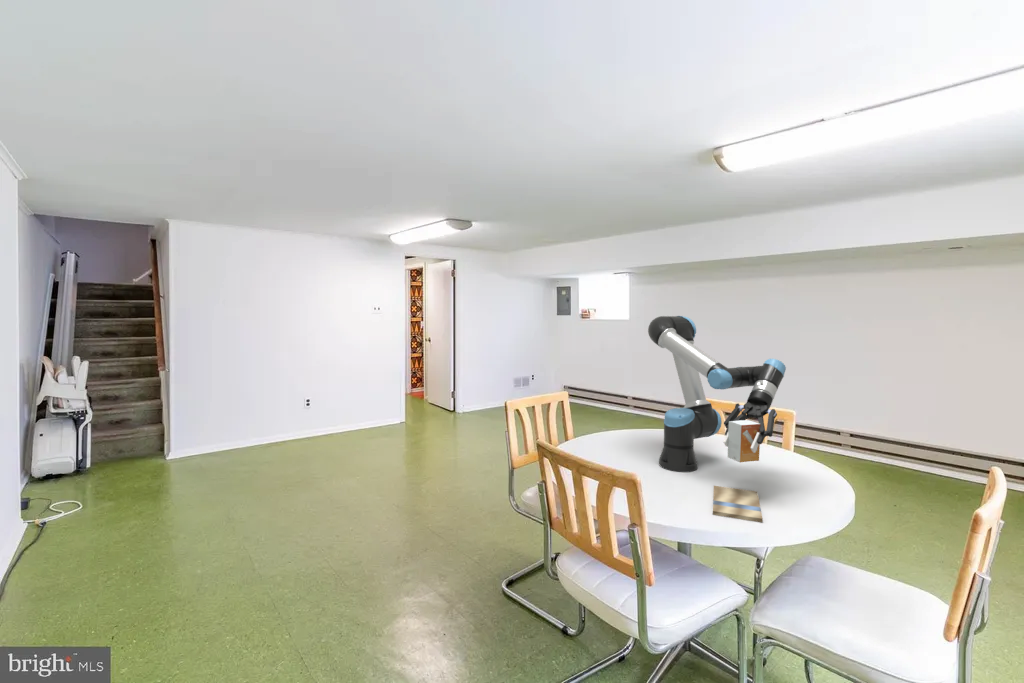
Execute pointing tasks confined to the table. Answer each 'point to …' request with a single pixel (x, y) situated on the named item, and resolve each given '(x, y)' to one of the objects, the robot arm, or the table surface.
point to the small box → (742, 440)
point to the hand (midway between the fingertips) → (738, 447)
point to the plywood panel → (736, 503)
